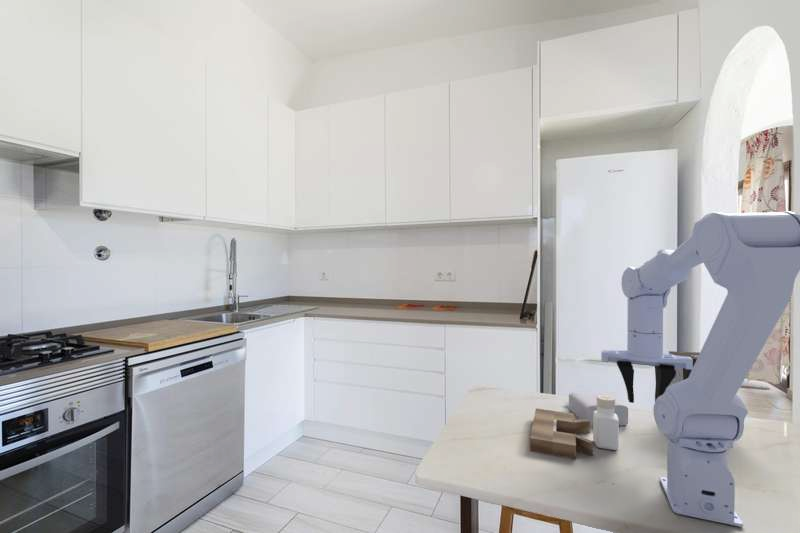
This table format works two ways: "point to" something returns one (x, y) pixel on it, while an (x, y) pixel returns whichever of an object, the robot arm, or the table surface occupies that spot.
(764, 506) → the table surface
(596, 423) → the pepper shaker
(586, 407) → the charger
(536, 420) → the locating nest
